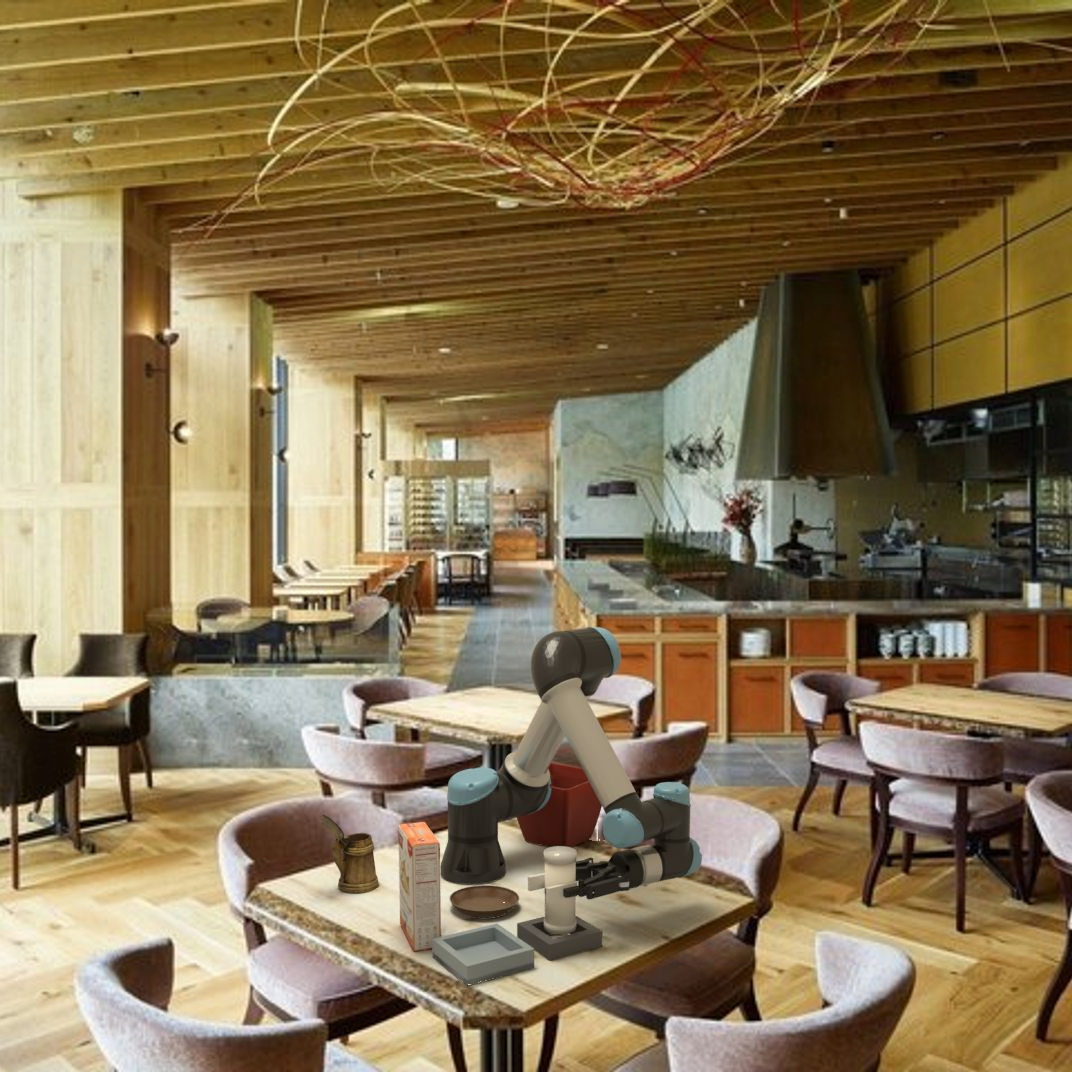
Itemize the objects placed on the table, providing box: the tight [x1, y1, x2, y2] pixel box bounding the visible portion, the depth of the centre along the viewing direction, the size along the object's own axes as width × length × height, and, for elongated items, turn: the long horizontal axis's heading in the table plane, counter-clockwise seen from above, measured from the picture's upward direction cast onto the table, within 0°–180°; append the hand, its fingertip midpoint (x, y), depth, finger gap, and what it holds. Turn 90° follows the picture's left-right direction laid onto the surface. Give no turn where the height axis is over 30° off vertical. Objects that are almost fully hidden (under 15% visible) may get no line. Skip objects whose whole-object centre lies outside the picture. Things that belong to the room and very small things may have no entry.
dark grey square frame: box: [516, 915, 603, 961], centre depth 202 cm, size 12×12×3 cm
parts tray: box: [431, 923, 535, 986], centre depth 193 cm, size 14×14×4 cm
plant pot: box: [516, 762, 603, 848], centre depth 265 cm, size 19×19×17 cm
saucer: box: [449, 884, 520, 919], centre depth 220 cm, size 15×15×3 cm
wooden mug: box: [321, 814, 380, 894], centre depth 231 cm, size 9×14×18 cm, turn 132°
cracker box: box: [397, 821, 442, 952], centre depth 205 cm, size 14×6×21 cm, turn 18°
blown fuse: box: [543, 846, 578, 936], centre depth 202 cm, size 6×6×15 cm
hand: (538, 889), depth 199 cm, fingers closed on blown fuse, 6 cm apart
